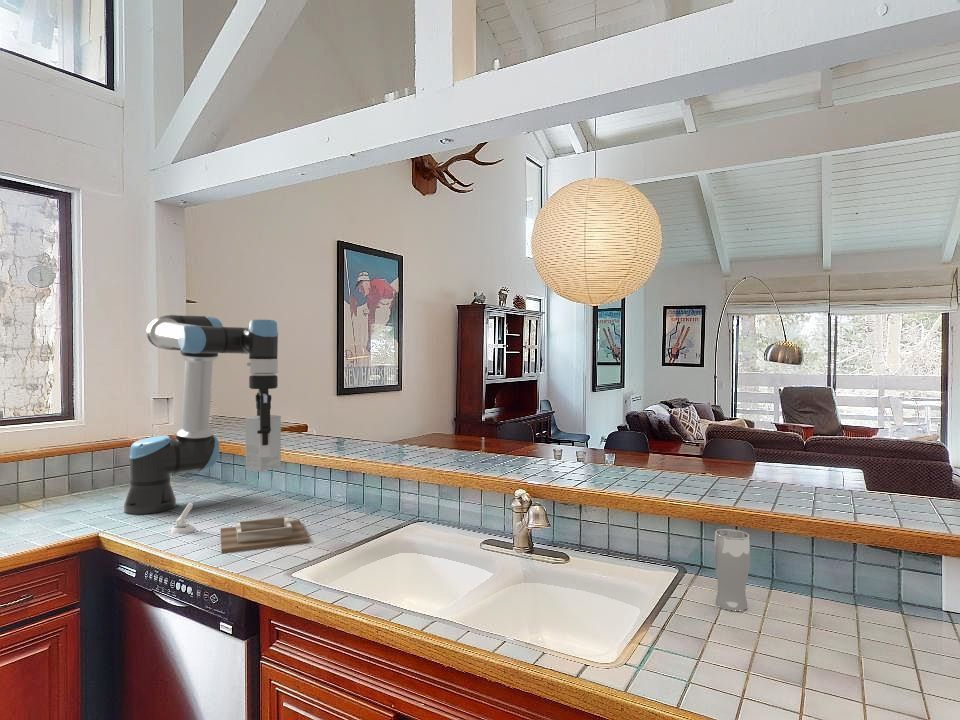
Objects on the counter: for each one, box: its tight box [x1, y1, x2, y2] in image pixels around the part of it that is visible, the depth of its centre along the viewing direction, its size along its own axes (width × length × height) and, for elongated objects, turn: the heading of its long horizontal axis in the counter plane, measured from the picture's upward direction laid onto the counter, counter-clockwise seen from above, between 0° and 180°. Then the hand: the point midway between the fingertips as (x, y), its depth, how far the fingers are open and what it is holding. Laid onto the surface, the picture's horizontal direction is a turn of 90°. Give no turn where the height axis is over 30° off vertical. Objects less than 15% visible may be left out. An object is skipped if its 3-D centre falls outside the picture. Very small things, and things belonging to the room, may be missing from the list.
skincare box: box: [244, 414, 282, 473], centre depth 167 cm, size 8×6×15 cm
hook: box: [170, 502, 196, 534], centre depth 173 cm, size 6×10×6 cm
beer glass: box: [713, 528, 751, 612], centre depth 123 cm, size 7×7×15 cm
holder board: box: [220, 515, 310, 554], centre depth 167 cm, size 20×22×4 cm
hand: (263, 453), depth 167 cm, fingers closed on skincare box, 10 cm apart
